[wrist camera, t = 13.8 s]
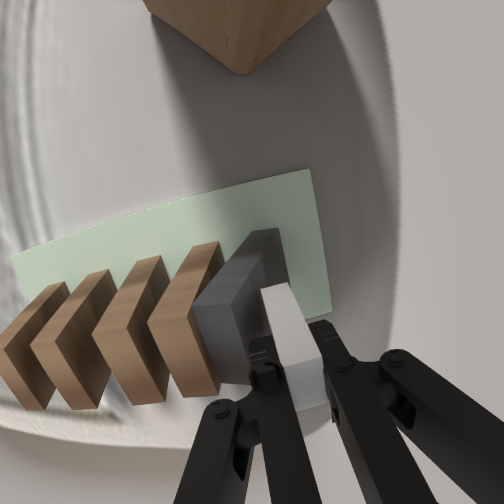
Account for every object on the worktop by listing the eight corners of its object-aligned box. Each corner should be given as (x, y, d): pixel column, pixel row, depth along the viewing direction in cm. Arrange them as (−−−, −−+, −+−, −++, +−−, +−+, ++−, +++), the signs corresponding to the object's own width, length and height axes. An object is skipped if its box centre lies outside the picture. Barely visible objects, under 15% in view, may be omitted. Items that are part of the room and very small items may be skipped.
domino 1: (88, 274, 23) (29, 345, 13) (108, 268, 23) (54, 341, 13) (111, 326, 25) (72, 409, 15) (131, 322, 25) (97, 408, 15)
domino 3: (192, 246, 23) (146, 322, 14) (218, 240, 23) (186, 316, 13) (211, 305, 25) (183, 397, 15) (235, 301, 24) (218, 395, 15)
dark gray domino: (252, 231, 23) (191, 305, 14) (278, 227, 22) (230, 304, 14) (266, 291, 25) (220, 383, 16) (291, 289, 24) (255, 384, 15)
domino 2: (136, 261, 23) (91, 334, 14) (160, 254, 23) (126, 327, 14) (158, 317, 25) (133, 405, 15) (181, 311, 25) (165, 401, 15)
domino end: (47, 285, 23) (-14, 351, 13) (64, 281, 23) (3, 349, 13) (71, 334, 25) (25, 410, 15) (88, 331, 25) (44, 410, 15)
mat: (12, 255, 22) (10, 256, 22) (308, 168, 22) (309, 168, 22) (66, 365, 26) (65, 367, 26) (331, 309, 26) (332, 311, 26)
